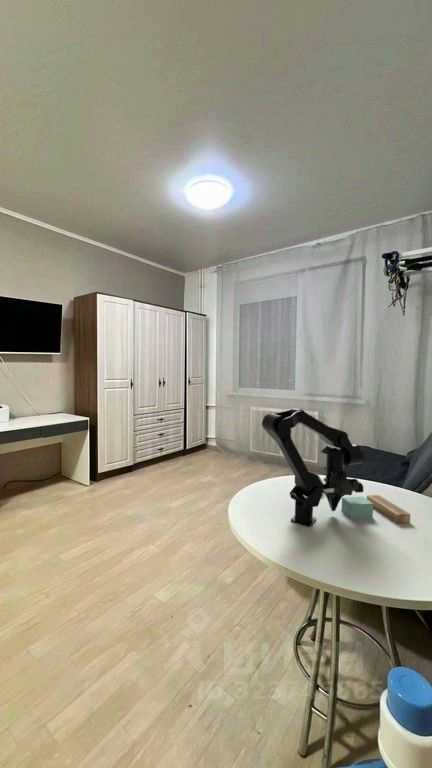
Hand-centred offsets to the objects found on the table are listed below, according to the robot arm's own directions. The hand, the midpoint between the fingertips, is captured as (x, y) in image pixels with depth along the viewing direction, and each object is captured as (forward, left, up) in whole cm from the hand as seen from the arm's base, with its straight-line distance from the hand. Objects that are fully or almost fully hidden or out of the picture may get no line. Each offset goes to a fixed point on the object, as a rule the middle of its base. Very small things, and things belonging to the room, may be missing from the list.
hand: (333, 510), depth 110 cm
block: (+6, -6, -2) cm, 9 cm away
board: (+14, -15, -2) cm, 21 cm away
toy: (+19, +14, -2) cm, 24 cm away
